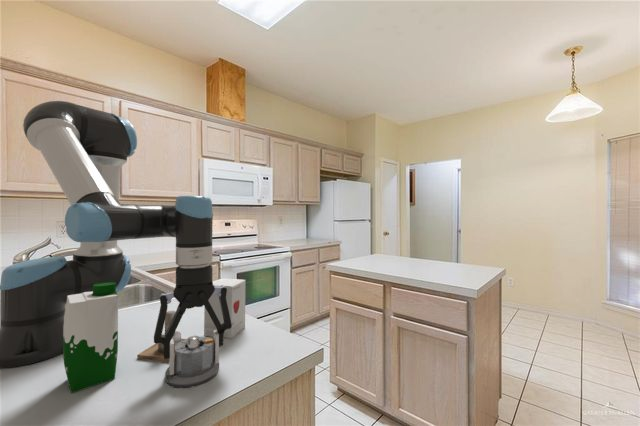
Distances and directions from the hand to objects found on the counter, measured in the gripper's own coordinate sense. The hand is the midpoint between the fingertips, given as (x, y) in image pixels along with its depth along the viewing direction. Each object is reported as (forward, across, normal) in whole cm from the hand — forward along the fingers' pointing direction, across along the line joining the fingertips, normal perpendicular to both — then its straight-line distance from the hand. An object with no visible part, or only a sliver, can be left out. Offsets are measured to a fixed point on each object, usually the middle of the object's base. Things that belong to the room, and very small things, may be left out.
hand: (194, 365), depth 64 cm
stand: (+1, -4, +14) cm, 15 cm away
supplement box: (+2, +11, +19) cm, 22 cm away
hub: (+1, 0, 0) cm, 1 cm away
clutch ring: (0, 0, 0) cm, 0 cm away
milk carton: (+2, -20, +8) cm, 21 cm away
